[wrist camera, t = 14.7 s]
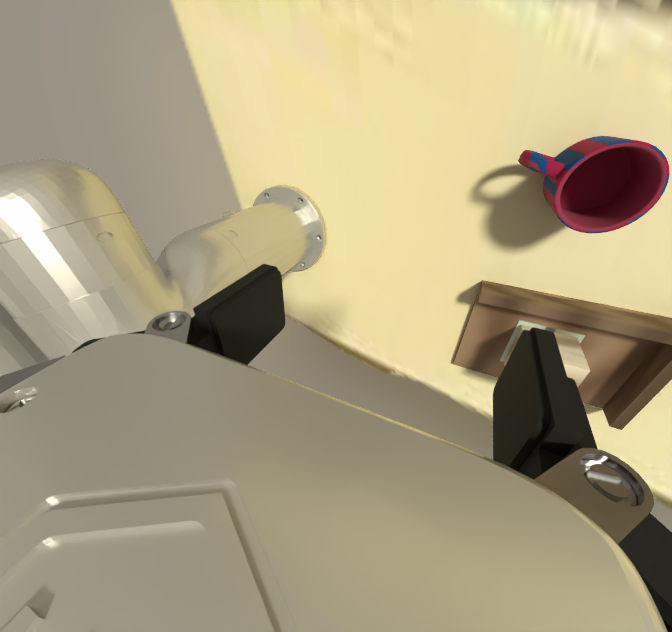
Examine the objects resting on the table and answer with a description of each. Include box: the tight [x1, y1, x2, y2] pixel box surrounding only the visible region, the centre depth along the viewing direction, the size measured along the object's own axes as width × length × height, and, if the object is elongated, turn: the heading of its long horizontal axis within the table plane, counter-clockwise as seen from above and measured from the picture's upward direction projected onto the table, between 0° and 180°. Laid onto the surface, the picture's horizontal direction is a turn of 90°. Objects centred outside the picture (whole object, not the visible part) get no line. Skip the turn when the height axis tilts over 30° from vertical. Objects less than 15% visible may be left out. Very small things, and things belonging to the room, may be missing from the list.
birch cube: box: [504, 325, 590, 387], centre depth 35 cm, size 6×6×6 cm
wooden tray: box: [453, 281, 672, 430], centre depth 36 cm, size 20×14×4 cm
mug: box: [518, 136, 669, 233], centre depth 25 cm, size 7×10×7 cm
